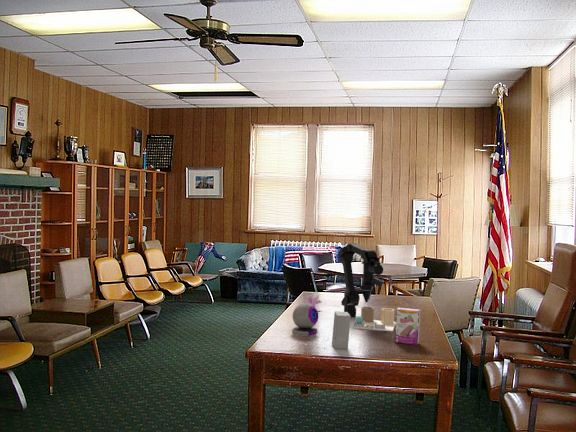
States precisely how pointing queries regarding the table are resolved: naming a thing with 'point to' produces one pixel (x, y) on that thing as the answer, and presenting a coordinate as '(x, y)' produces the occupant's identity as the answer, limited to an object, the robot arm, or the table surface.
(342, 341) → the skincare box
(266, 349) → the table surface
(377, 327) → the board
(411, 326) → the candy bar box
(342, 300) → the robot arm
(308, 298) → the lily
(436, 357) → the table surface
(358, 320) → the teal ball
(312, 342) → the table surface
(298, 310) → the eyeball
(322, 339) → the table surface
